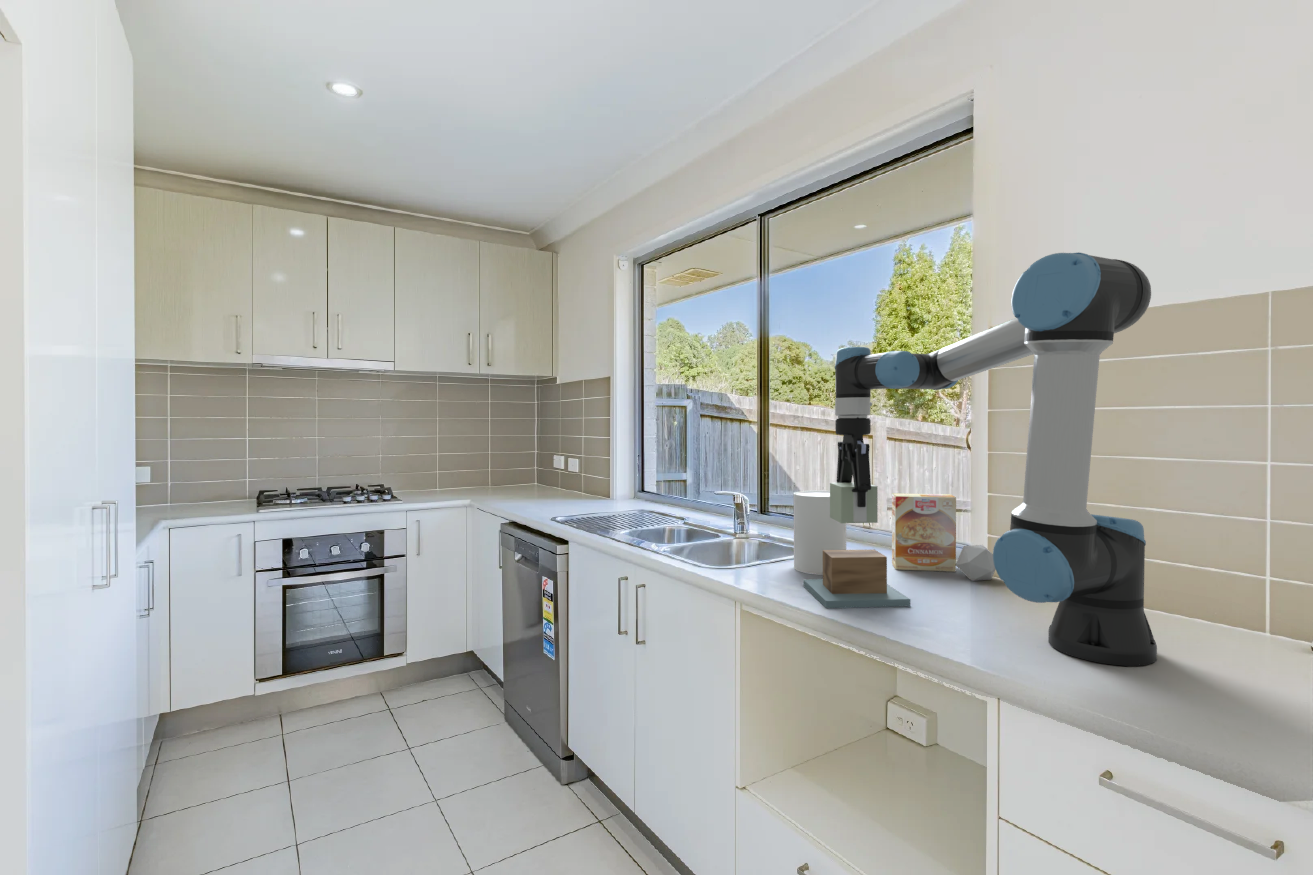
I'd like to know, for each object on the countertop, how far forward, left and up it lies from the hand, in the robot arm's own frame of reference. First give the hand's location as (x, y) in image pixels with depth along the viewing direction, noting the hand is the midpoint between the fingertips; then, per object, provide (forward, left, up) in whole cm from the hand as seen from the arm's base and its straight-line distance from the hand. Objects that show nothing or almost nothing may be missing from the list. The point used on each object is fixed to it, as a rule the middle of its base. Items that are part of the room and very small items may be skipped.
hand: (853, 518), depth 143 cm
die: (+12, -35, -18) cm, 41 cm away
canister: (+26, 0, -18) cm, 31 cm away
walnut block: (0, 0, -16) cm, 16 cm away
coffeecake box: (+24, -27, -18) cm, 40 cm away
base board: (0, 0, -17) cm, 17 cm away
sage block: (0, 0, 0) cm, 0 cm away
